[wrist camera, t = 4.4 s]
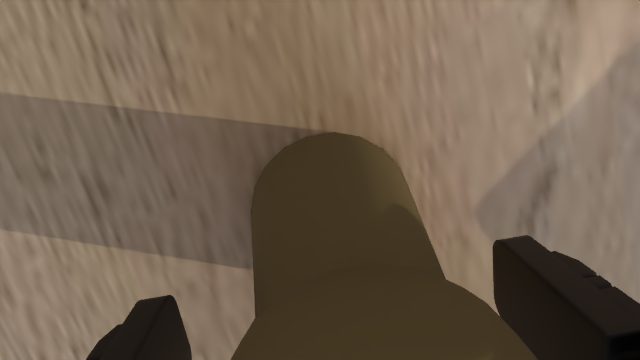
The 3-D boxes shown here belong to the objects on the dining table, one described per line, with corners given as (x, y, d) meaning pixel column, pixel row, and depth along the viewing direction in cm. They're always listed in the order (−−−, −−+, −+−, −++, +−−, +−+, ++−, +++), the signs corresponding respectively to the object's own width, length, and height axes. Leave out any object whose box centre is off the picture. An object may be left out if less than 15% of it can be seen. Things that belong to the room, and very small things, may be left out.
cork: (404, 281, 16) (607, 711, 5) (253, 283, 16) (161, 743, 5) (418, 133, 14) (757, 347, 4) (248, 131, 14) (92, 361, 3)
